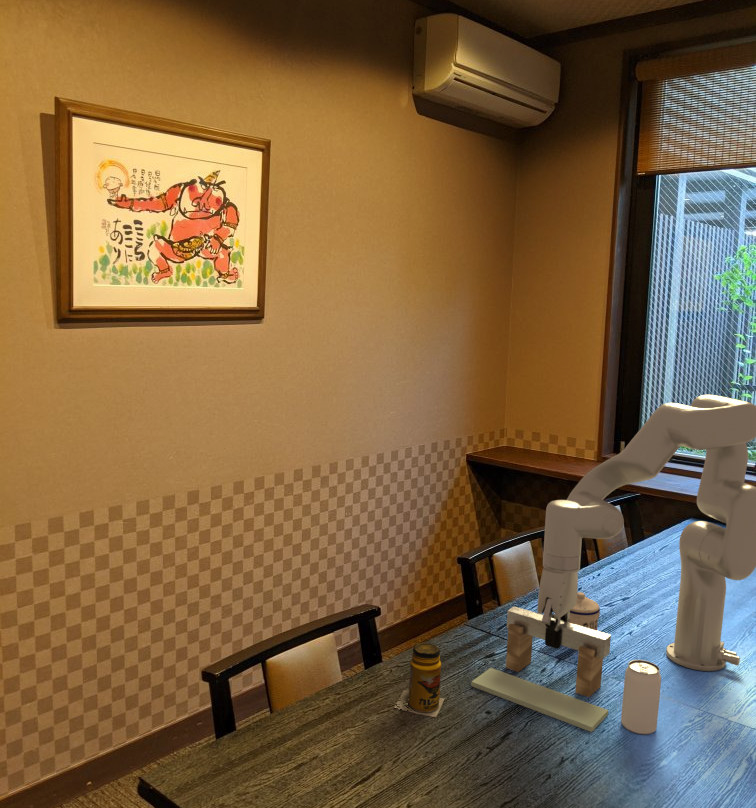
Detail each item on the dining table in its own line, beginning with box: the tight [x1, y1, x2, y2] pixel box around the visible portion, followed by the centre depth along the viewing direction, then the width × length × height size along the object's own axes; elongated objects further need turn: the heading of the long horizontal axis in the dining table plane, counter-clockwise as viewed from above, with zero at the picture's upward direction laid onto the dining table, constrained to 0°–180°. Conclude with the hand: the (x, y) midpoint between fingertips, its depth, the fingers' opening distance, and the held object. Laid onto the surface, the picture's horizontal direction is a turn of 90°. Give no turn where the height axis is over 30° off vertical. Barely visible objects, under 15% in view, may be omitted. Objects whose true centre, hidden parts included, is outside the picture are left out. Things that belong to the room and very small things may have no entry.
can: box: [620, 659, 662, 736], centre depth 150 cm, size 6×6×12 cm
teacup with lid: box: [569, 591, 601, 631], centre depth 187 cm, size 12×9×12 cm
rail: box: [506, 605, 612, 659], centre depth 167 cm, size 22×3×4 cm, turn 53°
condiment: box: [393, 642, 446, 718], centre depth 155 cm, size 7×8×12 cm
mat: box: [470, 667, 609, 733], centre depth 159 cm, size 26×8×1 cm, turn 53°
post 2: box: [574, 646, 604, 698], centre depth 163 cm, size 3×6×10 cm, turn 143°
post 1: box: [505, 624, 534, 673], centre depth 173 cm, size 3×6×10 cm, turn 143°
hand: (556, 642), depth 168 cm, fingers closed on rail, 3 cm apart
